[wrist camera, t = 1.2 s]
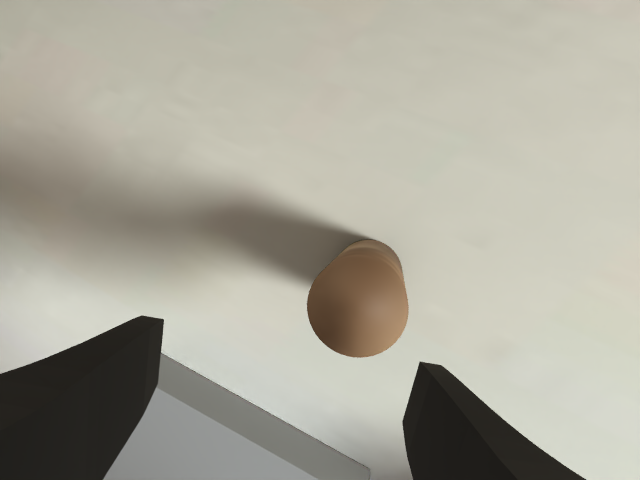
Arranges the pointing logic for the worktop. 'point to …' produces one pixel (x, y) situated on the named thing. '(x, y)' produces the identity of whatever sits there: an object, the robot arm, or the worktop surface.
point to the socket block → (220, 438)
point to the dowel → (359, 300)
